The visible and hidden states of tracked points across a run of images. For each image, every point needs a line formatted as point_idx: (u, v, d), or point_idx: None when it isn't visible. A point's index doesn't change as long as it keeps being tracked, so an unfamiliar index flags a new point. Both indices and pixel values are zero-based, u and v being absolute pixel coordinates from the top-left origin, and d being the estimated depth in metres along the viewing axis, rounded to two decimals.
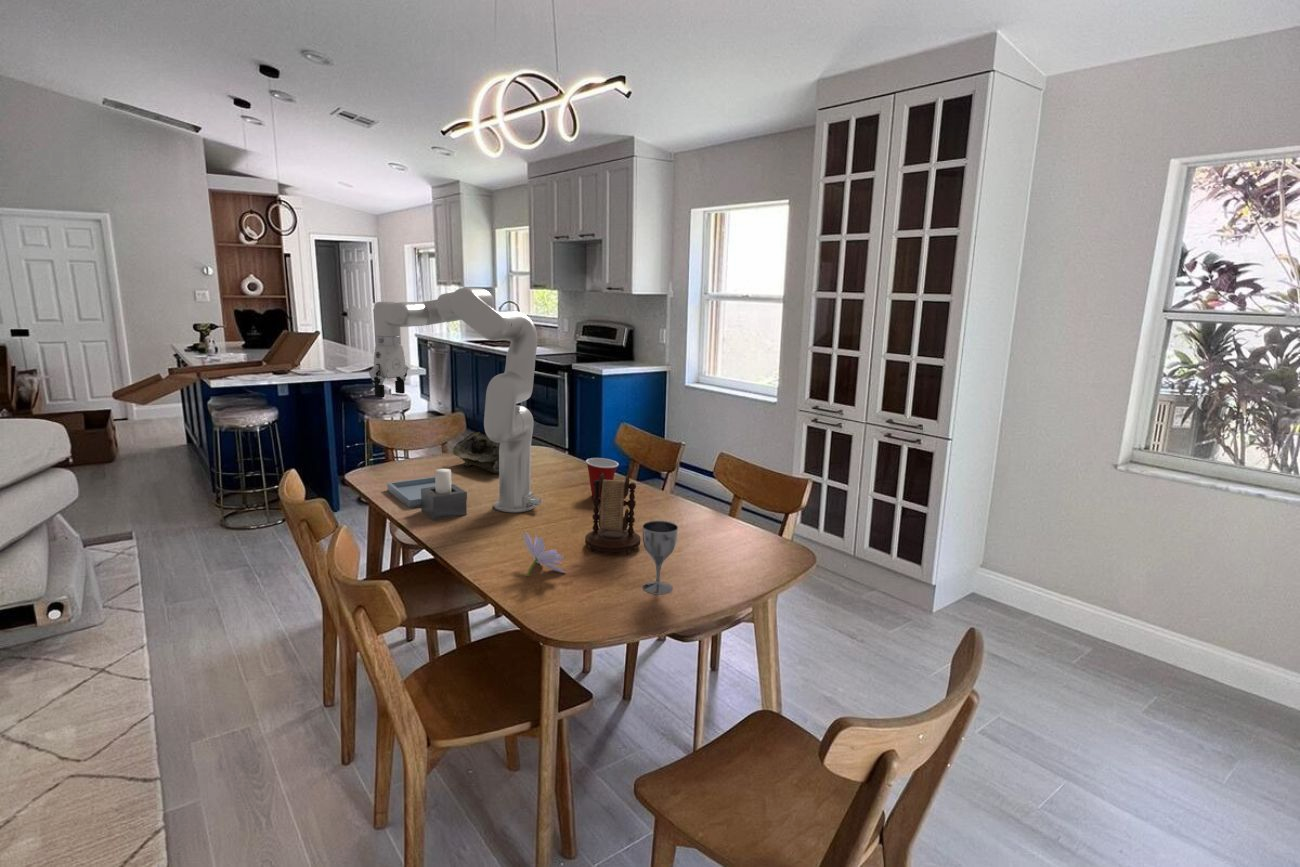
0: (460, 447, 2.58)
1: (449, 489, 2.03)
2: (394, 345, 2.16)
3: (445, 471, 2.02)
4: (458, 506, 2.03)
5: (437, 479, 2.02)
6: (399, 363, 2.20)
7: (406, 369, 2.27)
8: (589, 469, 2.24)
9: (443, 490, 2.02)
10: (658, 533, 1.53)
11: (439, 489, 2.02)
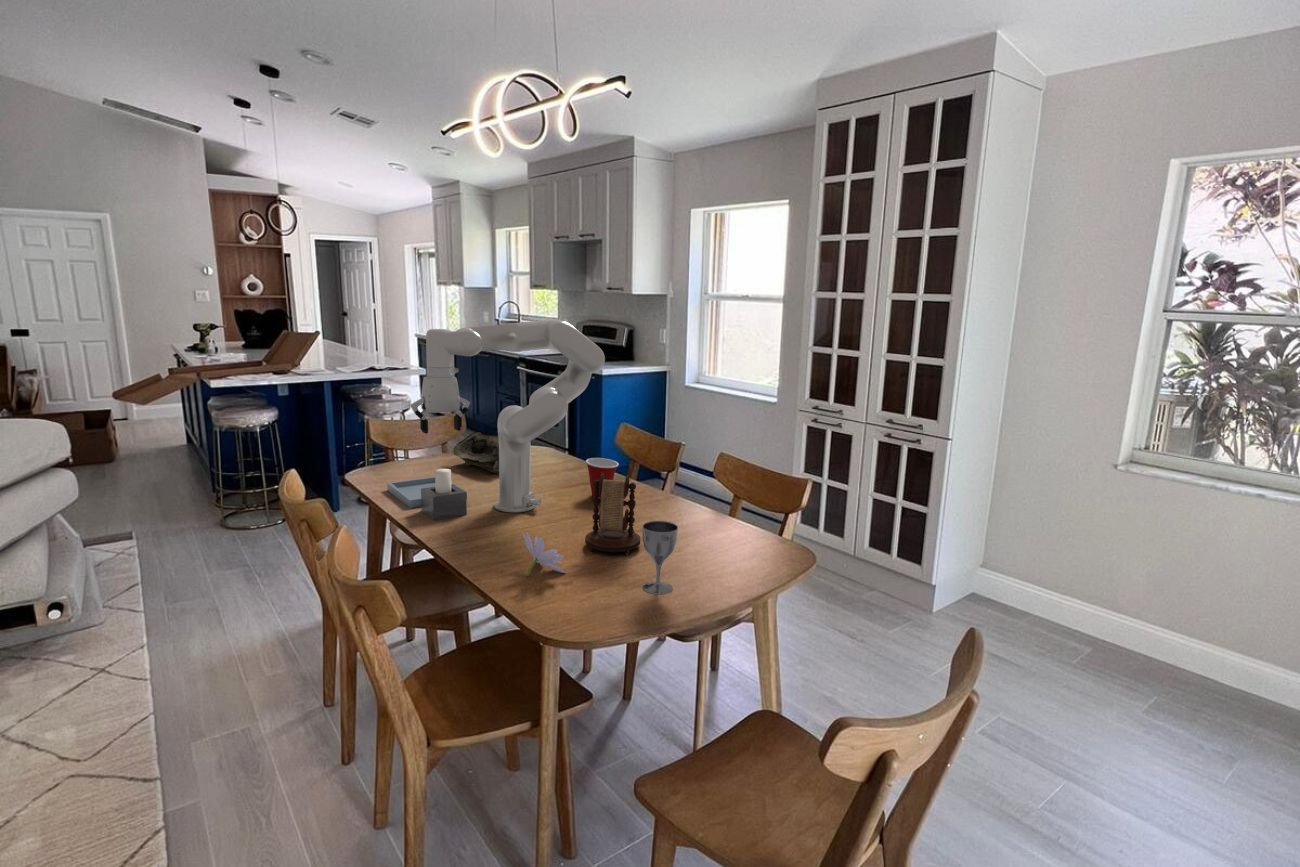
0: (460, 447, 2.58)
1: (449, 489, 2.03)
2: None
3: (445, 471, 2.02)
4: (458, 506, 2.03)
5: (437, 479, 2.02)
6: None
7: None
8: (589, 469, 2.24)
9: (443, 490, 2.02)
10: (658, 533, 1.53)
11: (439, 489, 2.02)
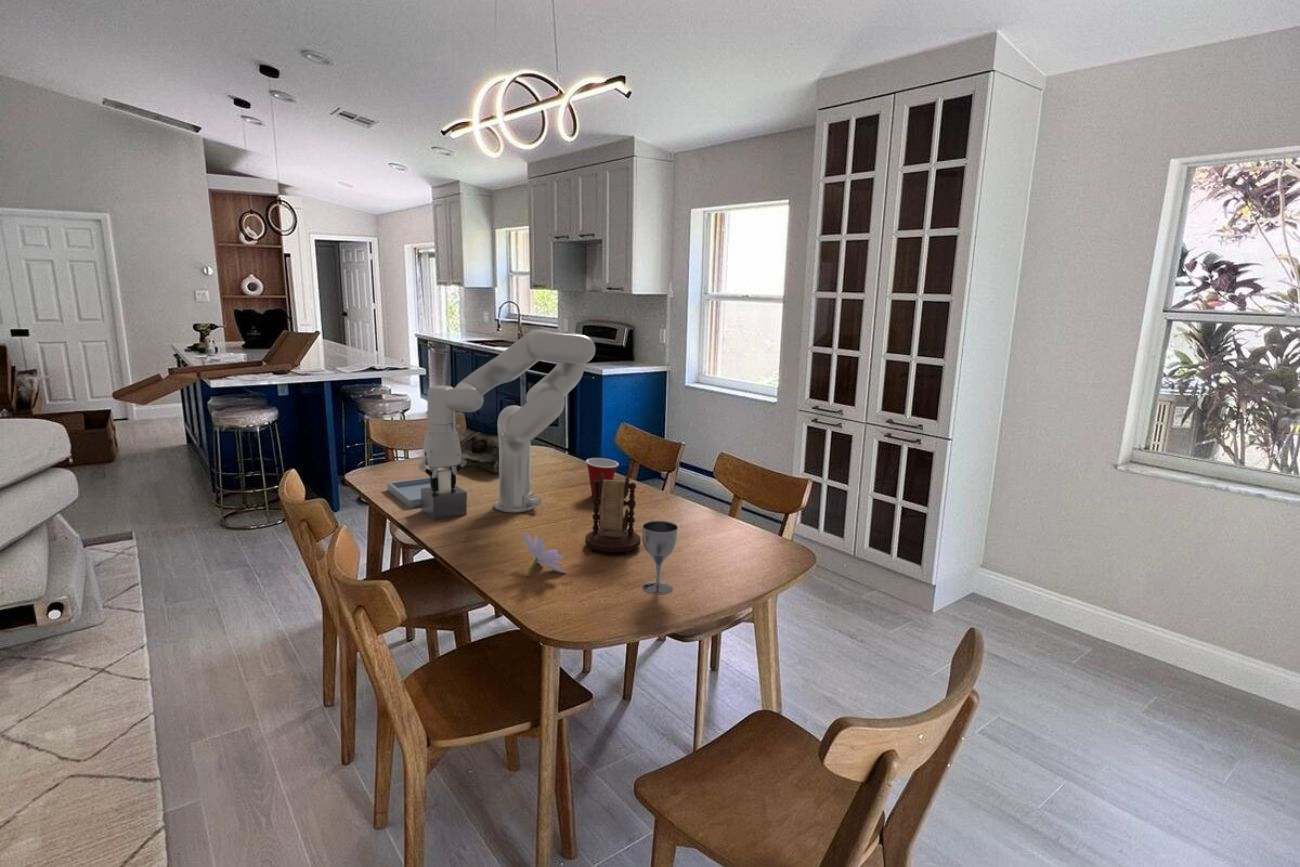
0: (460, 447, 2.58)
1: (449, 489, 2.03)
2: None
3: (445, 471, 2.02)
4: (458, 506, 2.03)
5: None
6: None
7: None
8: (589, 469, 2.24)
9: (443, 490, 2.02)
10: (658, 533, 1.53)
11: (439, 489, 2.02)
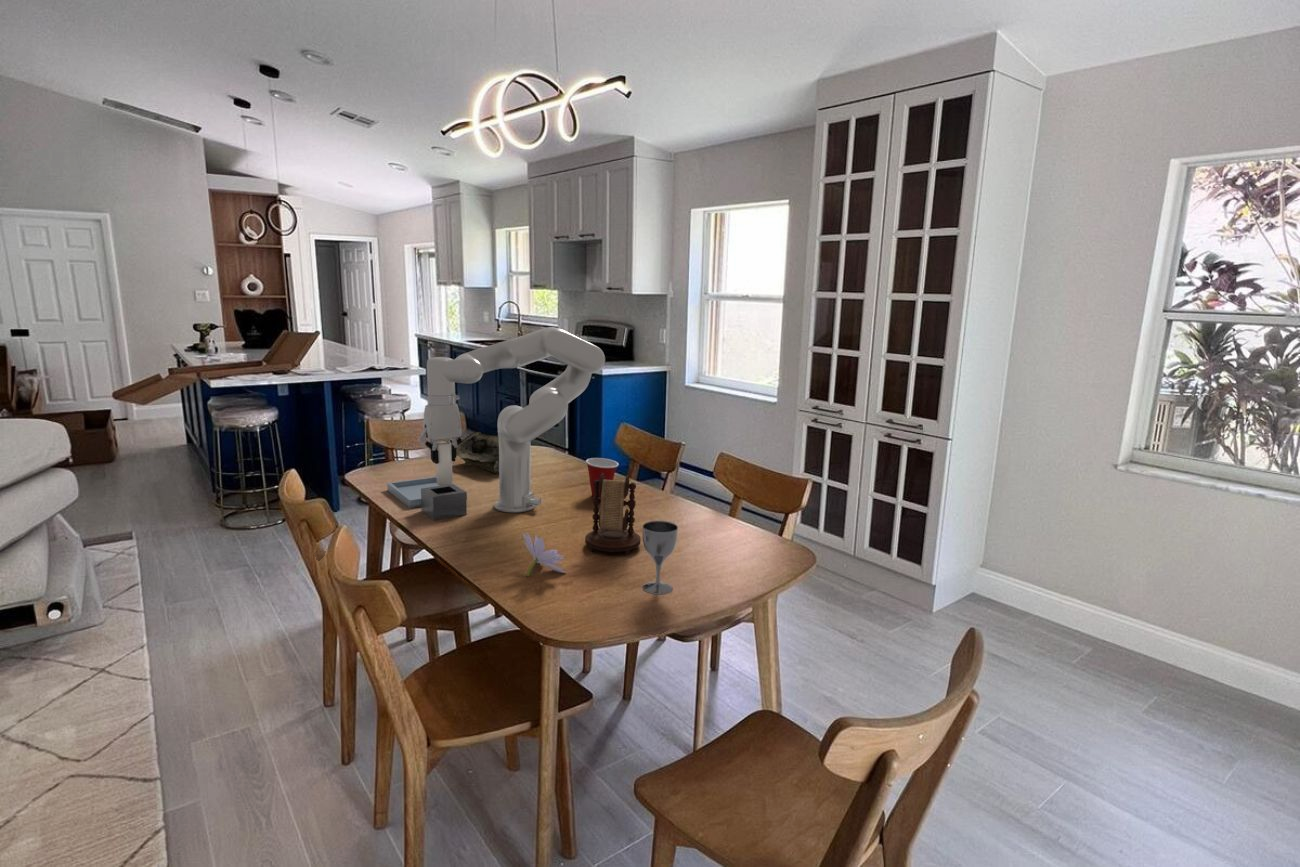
0: (460, 447, 2.58)
1: (450, 462, 2.02)
2: None
3: (445, 444, 2.01)
4: (458, 506, 2.03)
5: None
6: None
7: None
8: (589, 469, 2.24)
9: (443, 463, 2.01)
10: (658, 533, 1.53)
11: (439, 462, 2.01)
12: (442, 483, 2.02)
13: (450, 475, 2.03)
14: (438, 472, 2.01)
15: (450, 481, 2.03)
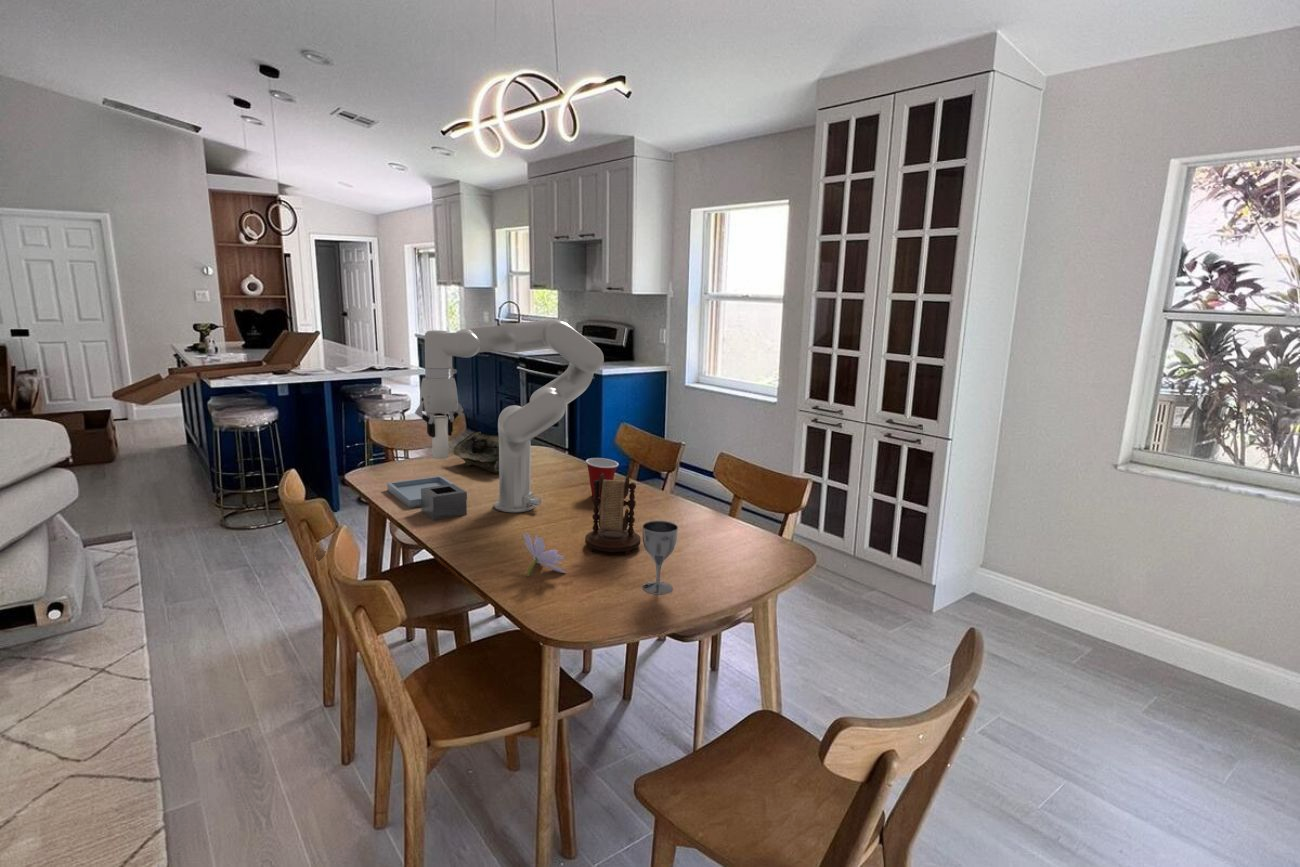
0: (460, 447, 2.58)
1: (446, 436, 2.02)
2: None
3: (442, 417, 2.01)
4: (458, 506, 2.03)
5: None
6: None
7: None
8: (589, 469, 2.24)
9: (439, 437, 2.00)
10: (658, 533, 1.53)
11: (435, 436, 2.00)
12: (438, 457, 2.02)
13: (446, 449, 2.03)
14: (434, 446, 2.01)
15: (446, 455, 2.03)
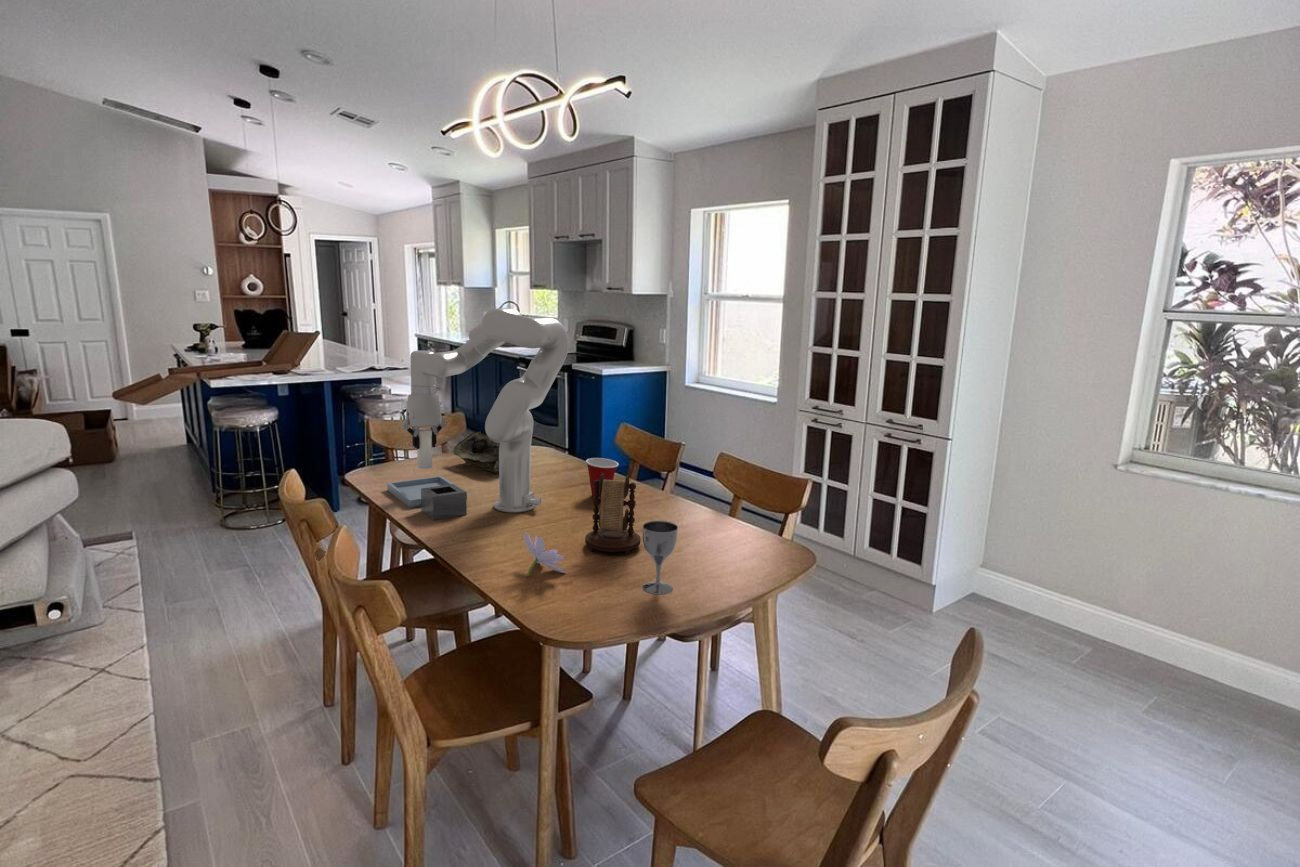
0: (461, 447, 2.58)
1: (430, 447, 2.18)
2: None
3: (426, 430, 2.17)
4: (458, 506, 2.03)
5: (419, 438, 2.17)
6: None
7: None
8: (589, 469, 2.24)
9: (424, 448, 2.17)
10: (658, 533, 1.53)
11: (420, 447, 2.17)
12: (422, 467, 2.18)
13: (430, 460, 2.19)
14: (419, 456, 2.18)
15: (430, 465, 2.20)
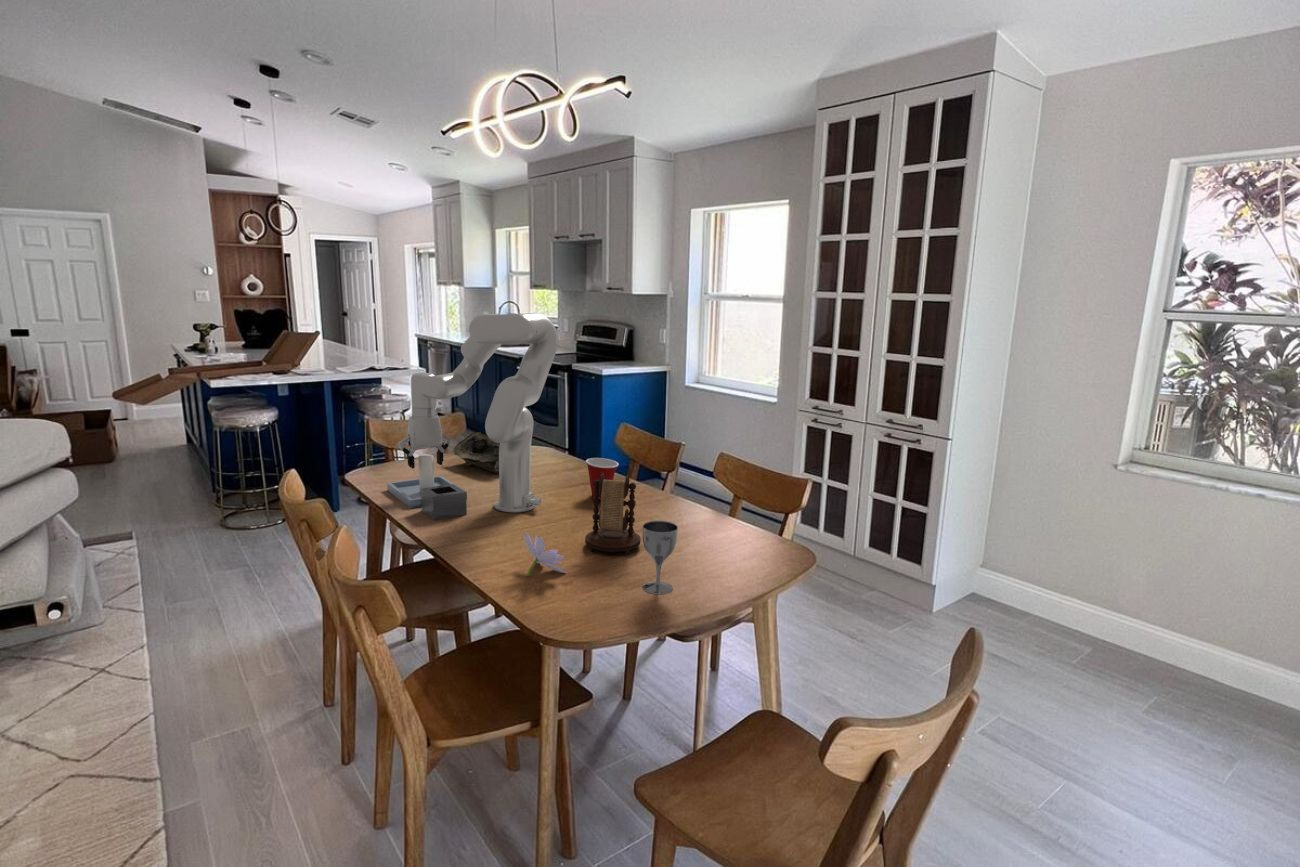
0: (461, 447, 2.58)
1: (431, 473, 2.20)
2: None
3: (428, 456, 2.19)
4: (458, 506, 2.03)
5: (420, 464, 2.18)
6: None
7: None
8: (589, 469, 2.24)
9: (425, 474, 2.19)
10: (658, 533, 1.53)
11: (422, 473, 2.19)
12: None
13: (432, 485, 2.21)
14: (421, 482, 2.20)
15: None
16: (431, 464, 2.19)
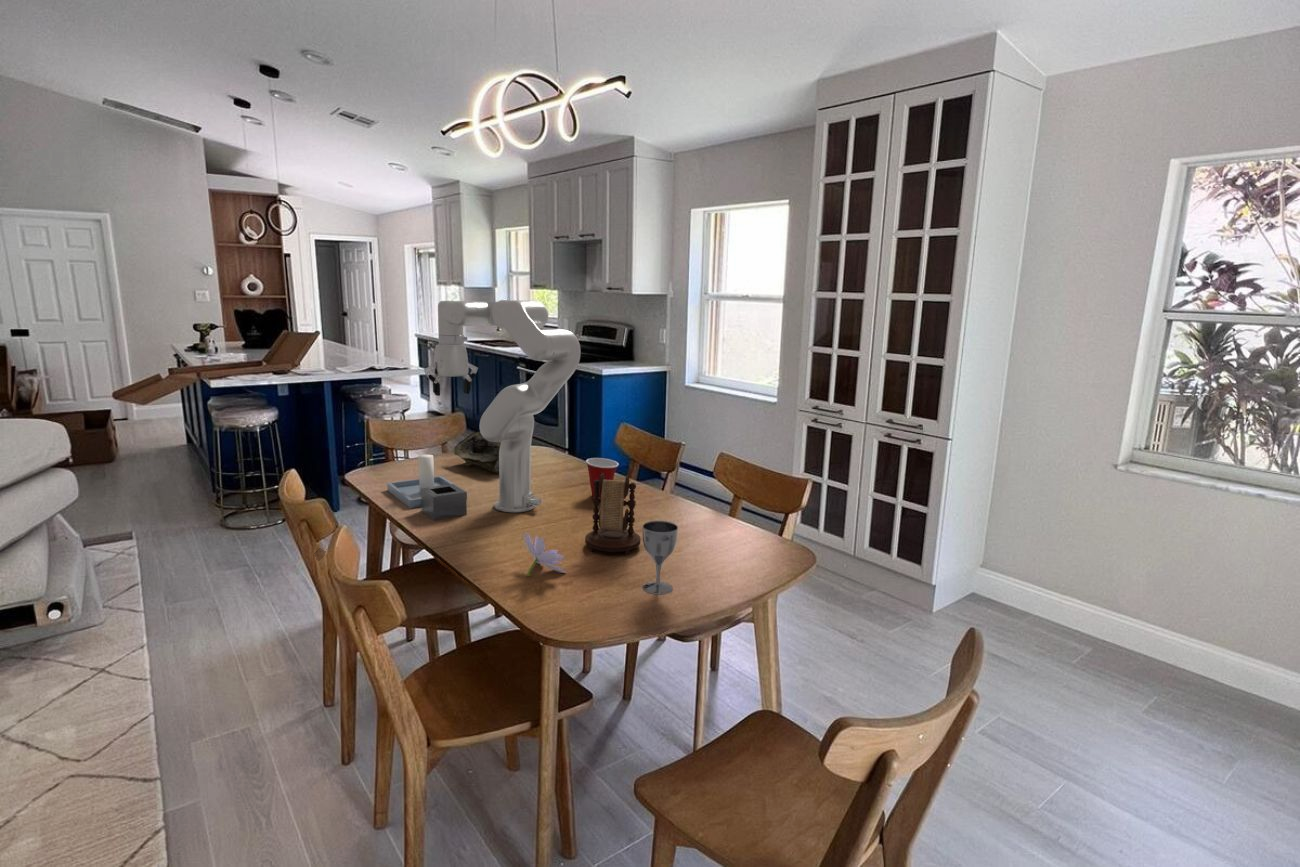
0: (461, 447, 2.58)
1: (431, 473, 2.20)
2: None
3: (428, 456, 2.19)
4: (458, 506, 2.03)
5: (420, 464, 2.18)
6: None
7: None
8: (589, 469, 2.24)
9: (425, 474, 2.19)
10: (658, 533, 1.53)
11: (422, 473, 2.19)
12: None
13: (432, 485, 2.21)
14: (421, 482, 2.20)
15: None
16: (431, 464, 2.19)
